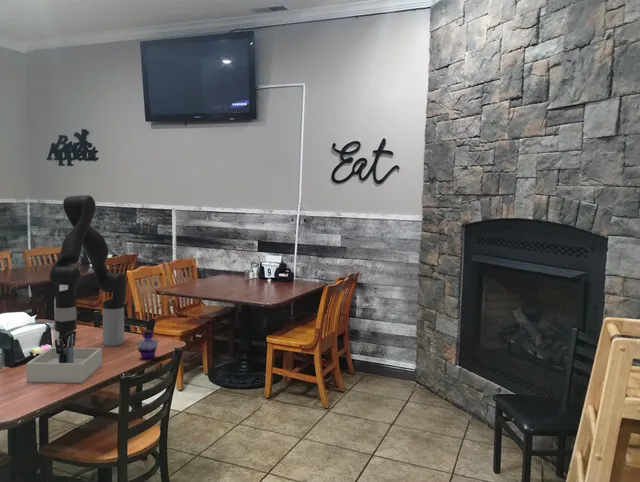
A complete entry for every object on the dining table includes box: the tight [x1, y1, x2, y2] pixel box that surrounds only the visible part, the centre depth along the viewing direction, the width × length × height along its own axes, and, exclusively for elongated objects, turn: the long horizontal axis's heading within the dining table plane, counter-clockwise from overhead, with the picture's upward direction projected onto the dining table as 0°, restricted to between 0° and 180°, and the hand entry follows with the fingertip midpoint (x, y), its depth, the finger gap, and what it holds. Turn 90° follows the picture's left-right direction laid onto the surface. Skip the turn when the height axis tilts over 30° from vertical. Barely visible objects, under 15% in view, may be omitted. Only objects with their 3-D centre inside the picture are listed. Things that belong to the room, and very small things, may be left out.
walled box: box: [25, 346, 103, 384], centre depth 202 cm, size 20×20×7 cm
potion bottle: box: [137, 329, 159, 361], centre depth 223 cm, size 9×9×12 cm
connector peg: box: [59, 346, 75, 363], centre depth 202 cm, size 4×4×10 cm
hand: (66, 360), depth 201 cm, fingers open, 4 cm apart
